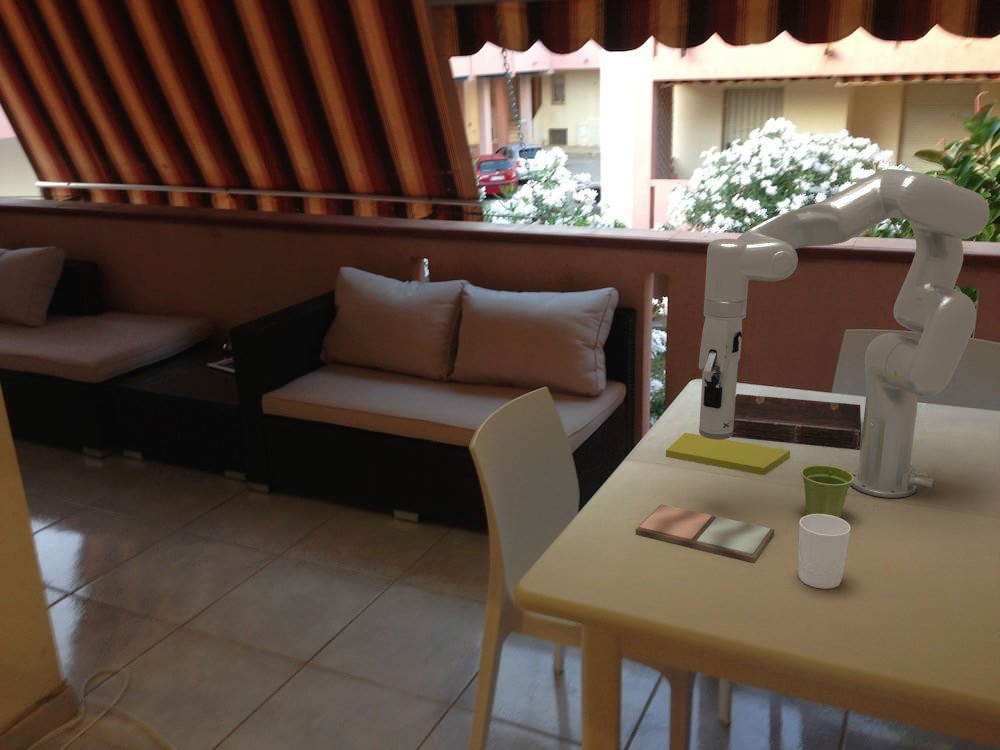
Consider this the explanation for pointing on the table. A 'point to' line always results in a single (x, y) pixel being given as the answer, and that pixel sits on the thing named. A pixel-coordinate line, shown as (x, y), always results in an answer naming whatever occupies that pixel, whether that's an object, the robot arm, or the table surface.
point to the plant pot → (825, 489)
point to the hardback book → (797, 421)
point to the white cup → (822, 550)
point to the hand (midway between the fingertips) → (718, 400)
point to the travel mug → (722, 419)
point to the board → (706, 532)
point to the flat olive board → (727, 454)
